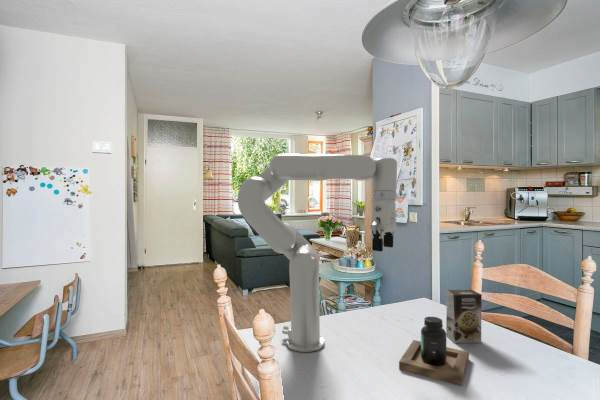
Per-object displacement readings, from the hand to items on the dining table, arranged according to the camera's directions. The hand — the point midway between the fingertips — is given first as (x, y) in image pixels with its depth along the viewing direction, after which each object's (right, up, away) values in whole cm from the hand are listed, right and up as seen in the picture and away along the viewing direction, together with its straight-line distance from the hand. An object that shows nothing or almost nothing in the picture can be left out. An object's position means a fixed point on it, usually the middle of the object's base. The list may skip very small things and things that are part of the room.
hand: (383, 248), depth 110 cm
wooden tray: (+12, -32, -12) cm, 36 cm away
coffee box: (+28, -31, +3) cm, 42 cm away
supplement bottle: (+12, -31, -12) cm, 35 cm away
